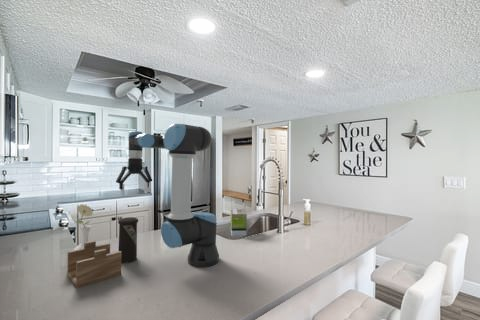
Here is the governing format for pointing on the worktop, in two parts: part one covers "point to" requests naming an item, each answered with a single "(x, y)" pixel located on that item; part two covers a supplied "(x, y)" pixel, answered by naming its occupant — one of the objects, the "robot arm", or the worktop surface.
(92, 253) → the holder
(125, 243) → the container
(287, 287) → the worktop surface
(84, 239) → the flower in vase
